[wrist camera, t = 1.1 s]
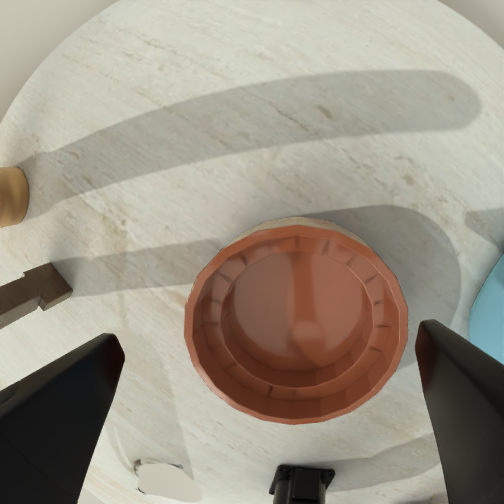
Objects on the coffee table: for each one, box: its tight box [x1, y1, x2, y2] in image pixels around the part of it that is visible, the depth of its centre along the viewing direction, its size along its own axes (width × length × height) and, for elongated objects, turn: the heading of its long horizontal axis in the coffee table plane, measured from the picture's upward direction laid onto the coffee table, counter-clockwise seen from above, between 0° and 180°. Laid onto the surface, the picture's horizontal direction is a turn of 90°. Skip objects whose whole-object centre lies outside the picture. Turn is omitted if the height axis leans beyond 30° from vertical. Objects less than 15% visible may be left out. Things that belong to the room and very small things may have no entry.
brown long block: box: [0, 262, 73, 329], centre depth 20 cm, size 4×2×13 cm, turn 48°
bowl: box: [184, 216, 408, 425], centre depth 20 cm, size 14×14×5 cm
